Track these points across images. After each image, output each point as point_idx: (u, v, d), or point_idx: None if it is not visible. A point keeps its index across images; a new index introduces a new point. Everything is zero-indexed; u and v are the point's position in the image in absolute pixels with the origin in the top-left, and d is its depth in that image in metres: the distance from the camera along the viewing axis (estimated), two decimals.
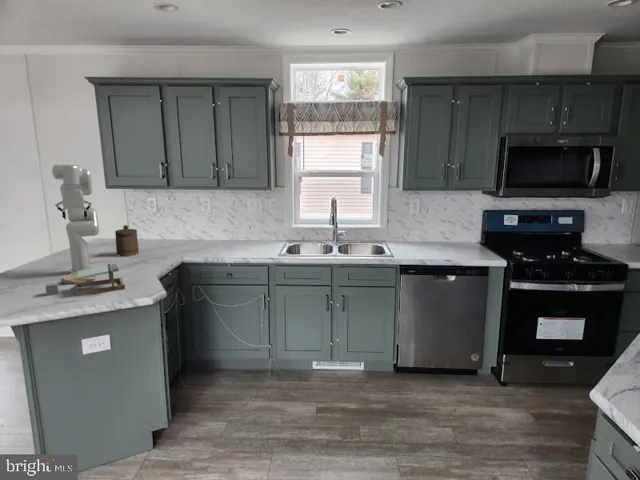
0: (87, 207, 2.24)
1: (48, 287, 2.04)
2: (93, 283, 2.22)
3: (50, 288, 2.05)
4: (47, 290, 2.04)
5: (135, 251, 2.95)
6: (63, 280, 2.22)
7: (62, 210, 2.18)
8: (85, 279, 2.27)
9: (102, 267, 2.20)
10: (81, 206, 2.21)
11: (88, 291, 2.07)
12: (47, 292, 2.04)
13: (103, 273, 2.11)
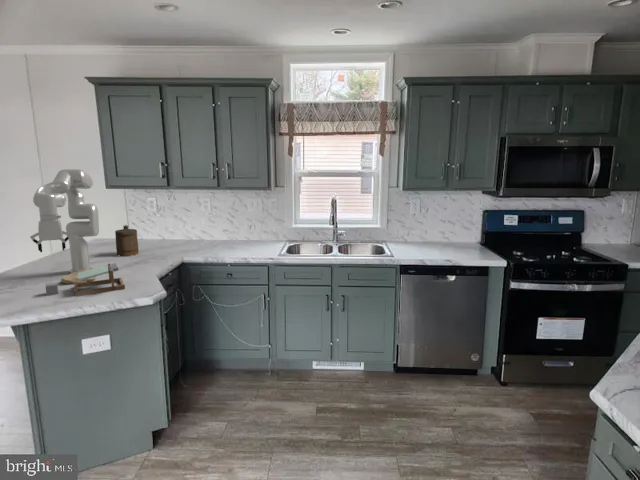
0: (65, 238, 2.08)
1: (48, 287, 2.04)
2: (93, 283, 2.22)
3: (50, 288, 2.05)
4: (47, 290, 2.04)
5: (135, 251, 2.95)
6: (63, 280, 2.22)
7: (38, 242, 2.02)
8: (85, 279, 2.27)
9: (102, 267, 2.20)
10: (59, 238, 2.05)
11: (88, 291, 2.07)
12: (47, 292, 2.04)
13: (103, 273, 2.11)
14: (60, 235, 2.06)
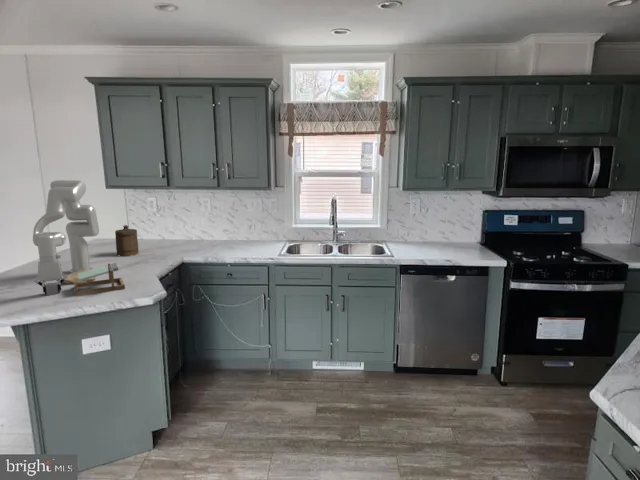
0: (61, 280, 2.08)
1: (48, 287, 2.04)
2: (93, 283, 2.22)
3: (50, 288, 2.04)
4: (47, 290, 2.04)
5: (135, 251, 2.95)
6: None
7: (42, 285, 2.04)
8: (85, 279, 2.27)
9: (102, 267, 2.20)
10: (58, 278, 2.06)
11: (88, 291, 2.07)
12: (47, 292, 2.04)
13: (103, 273, 2.11)
14: (60, 275, 2.06)
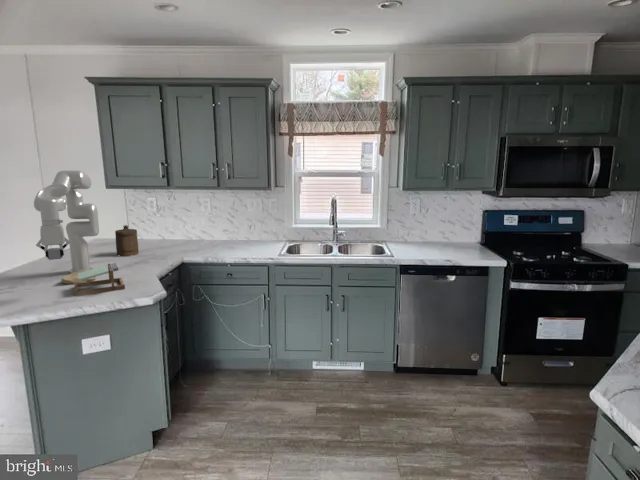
0: (63, 245, 2.06)
1: (50, 251, 2.02)
2: (93, 283, 2.22)
3: (52, 252, 2.02)
4: (49, 254, 2.02)
5: (135, 251, 2.95)
6: (63, 280, 2.22)
7: (45, 249, 2.02)
8: (85, 279, 2.27)
9: (102, 267, 2.20)
10: (61, 242, 2.04)
11: (88, 291, 2.07)
12: (49, 256, 2.02)
13: (103, 273, 2.11)
14: (62, 240, 2.04)
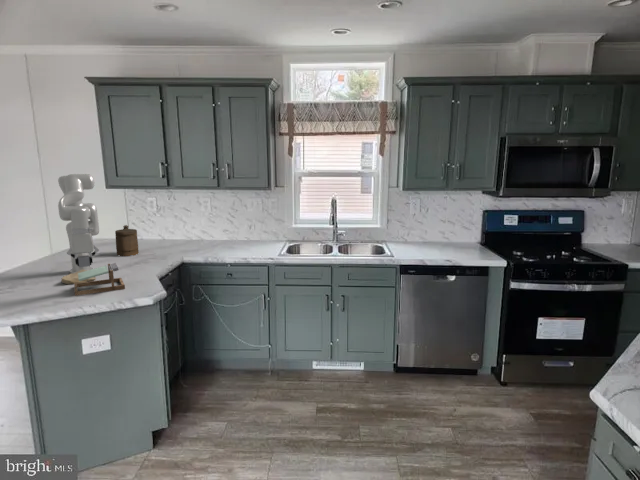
0: (92, 253, 2.12)
1: (80, 259, 2.08)
2: (93, 283, 2.22)
3: (82, 260, 2.09)
4: (79, 262, 2.08)
5: (135, 251, 2.95)
6: (63, 280, 2.22)
7: (75, 257, 2.08)
8: (85, 279, 2.27)
9: (102, 267, 2.20)
10: (90, 250, 2.10)
11: (88, 291, 2.07)
12: (79, 264, 2.08)
13: (103, 273, 2.11)
14: (91, 248, 2.10)
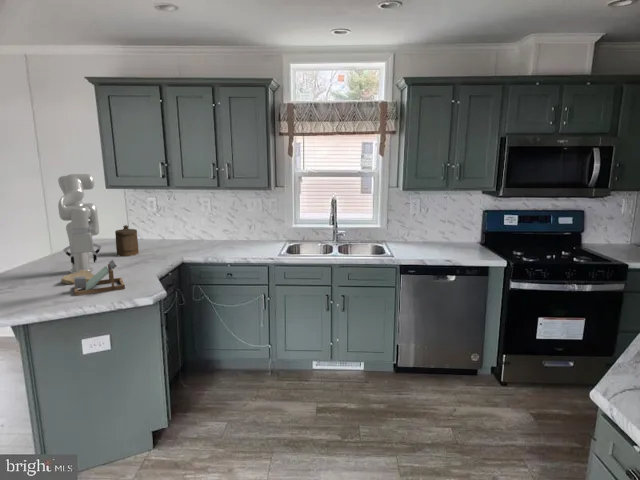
0: (97, 250, 2.13)
1: (76, 286, 2.09)
2: None
3: (78, 284, 2.09)
4: (80, 287, 2.10)
5: (135, 251, 2.95)
6: (63, 280, 2.22)
7: (70, 255, 2.06)
8: None
9: (103, 269, 2.20)
10: (90, 250, 2.10)
11: (88, 291, 2.07)
12: (82, 286, 2.11)
13: (105, 275, 2.11)
14: (91, 248, 2.10)
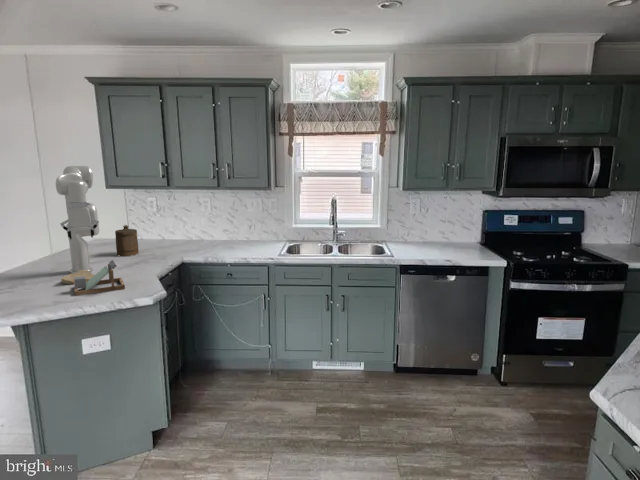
0: (94, 226, 2.10)
1: (76, 286, 2.09)
2: None
3: (78, 284, 2.09)
4: (80, 287, 2.10)
5: (135, 251, 2.95)
6: (63, 280, 2.21)
7: (68, 229, 2.04)
8: None
9: (103, 269, 2.20)
10: (88, 225, 2.08)
11: (88, 291, 2.07)
12: (82, 286, 2.11)
13: (105, 275, 2.11)
14: (89, 222, 2.08)
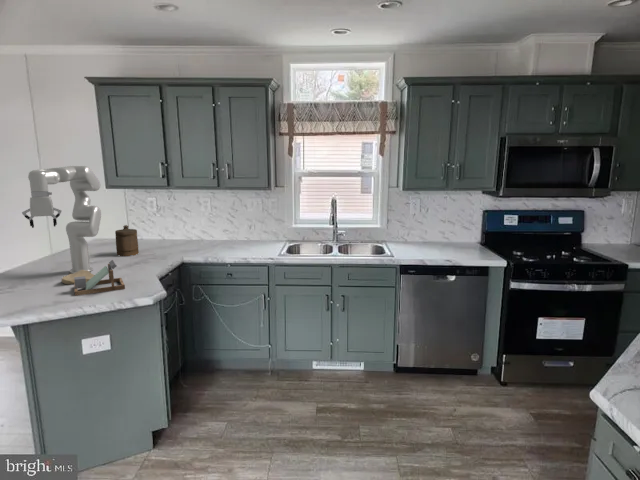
0: (56, 215, 2.14)
1: (76, 286, 2.09)
2: None
3: (78, 284, 2.09)
4: (80, 287, 2.10)
5: (135, 251, 2.95)
6: (63, 281, 2.21)
7: (29, 218, 2.08)
8: None
9: (103, 269, 2.20)
10: (50, 214, 2.11)
11: (88, 291, 2.07)
12: (82, 286, 2.11)
13: (105, 275, 2.11)
14: (51, 211, 2.11)
